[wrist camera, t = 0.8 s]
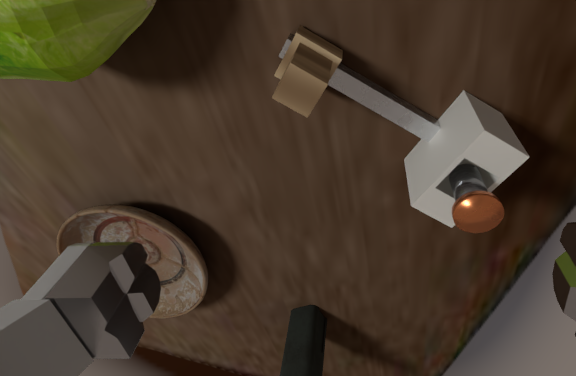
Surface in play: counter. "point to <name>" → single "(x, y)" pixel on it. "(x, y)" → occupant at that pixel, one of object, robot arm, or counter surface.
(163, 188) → the counter surface
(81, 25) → the lettuce
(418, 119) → the rail
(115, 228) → the ceramic bowl
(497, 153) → the housing
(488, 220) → the plunger
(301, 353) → the candle
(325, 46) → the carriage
